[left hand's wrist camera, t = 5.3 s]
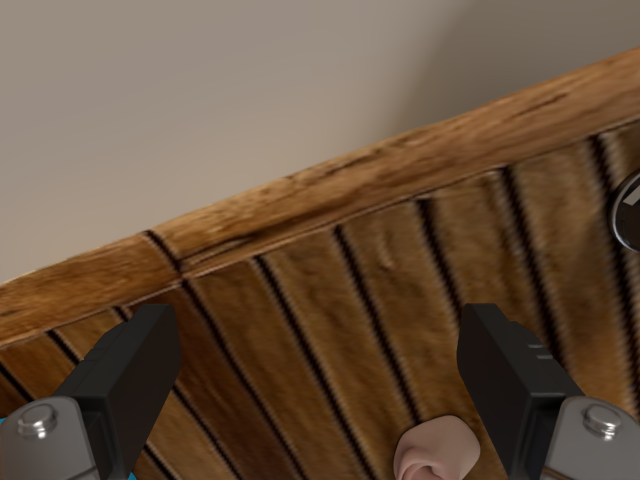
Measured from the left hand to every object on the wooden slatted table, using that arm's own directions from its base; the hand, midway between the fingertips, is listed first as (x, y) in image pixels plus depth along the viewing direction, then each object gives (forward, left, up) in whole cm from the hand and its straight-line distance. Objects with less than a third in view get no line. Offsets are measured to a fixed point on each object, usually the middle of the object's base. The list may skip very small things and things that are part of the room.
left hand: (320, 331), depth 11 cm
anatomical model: (-2, +41, -29) cm, 51 cm away
